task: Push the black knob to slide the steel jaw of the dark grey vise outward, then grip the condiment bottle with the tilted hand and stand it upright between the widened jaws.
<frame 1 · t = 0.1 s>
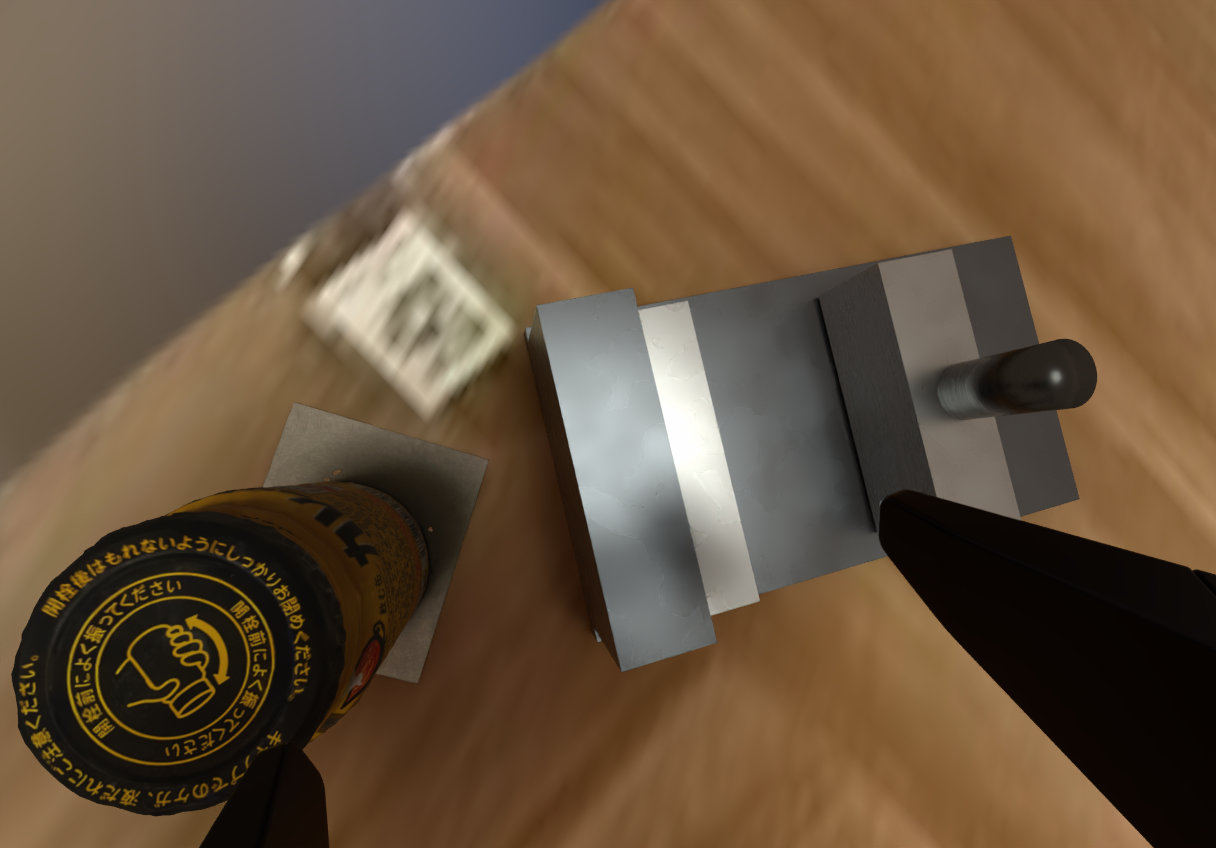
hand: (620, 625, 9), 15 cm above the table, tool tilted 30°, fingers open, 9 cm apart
condiment: (358, 541, 23), on the table
sliding jaw: (950, 394, 21), point 5 cm above the table, slide at 0.0 cm
vise: (811, 422, 26), on the table
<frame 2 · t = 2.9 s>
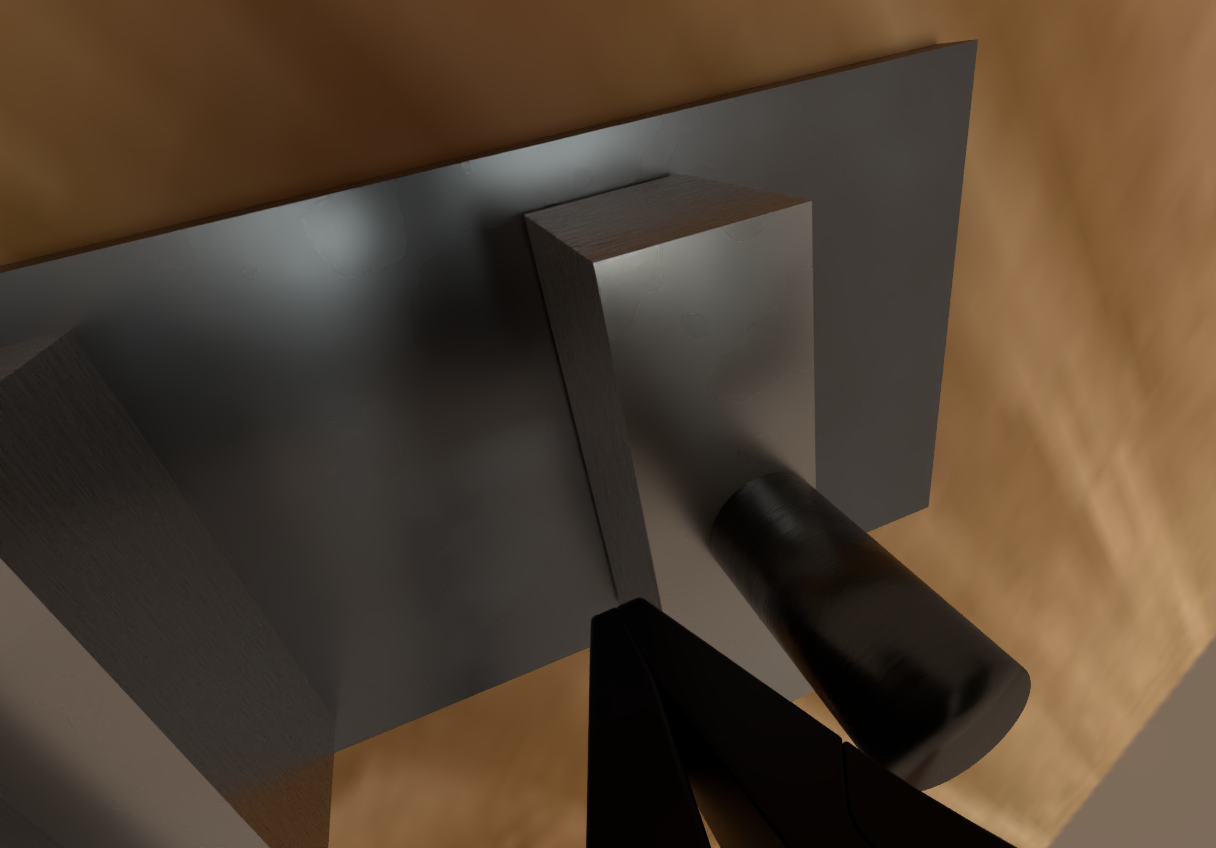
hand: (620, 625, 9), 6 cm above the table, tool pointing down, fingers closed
sliding jaw: (737, 535, 10), point 5 cm above the table, slide at 0.2 cm, touching gripper
vise: (516, 443, 14), on the table
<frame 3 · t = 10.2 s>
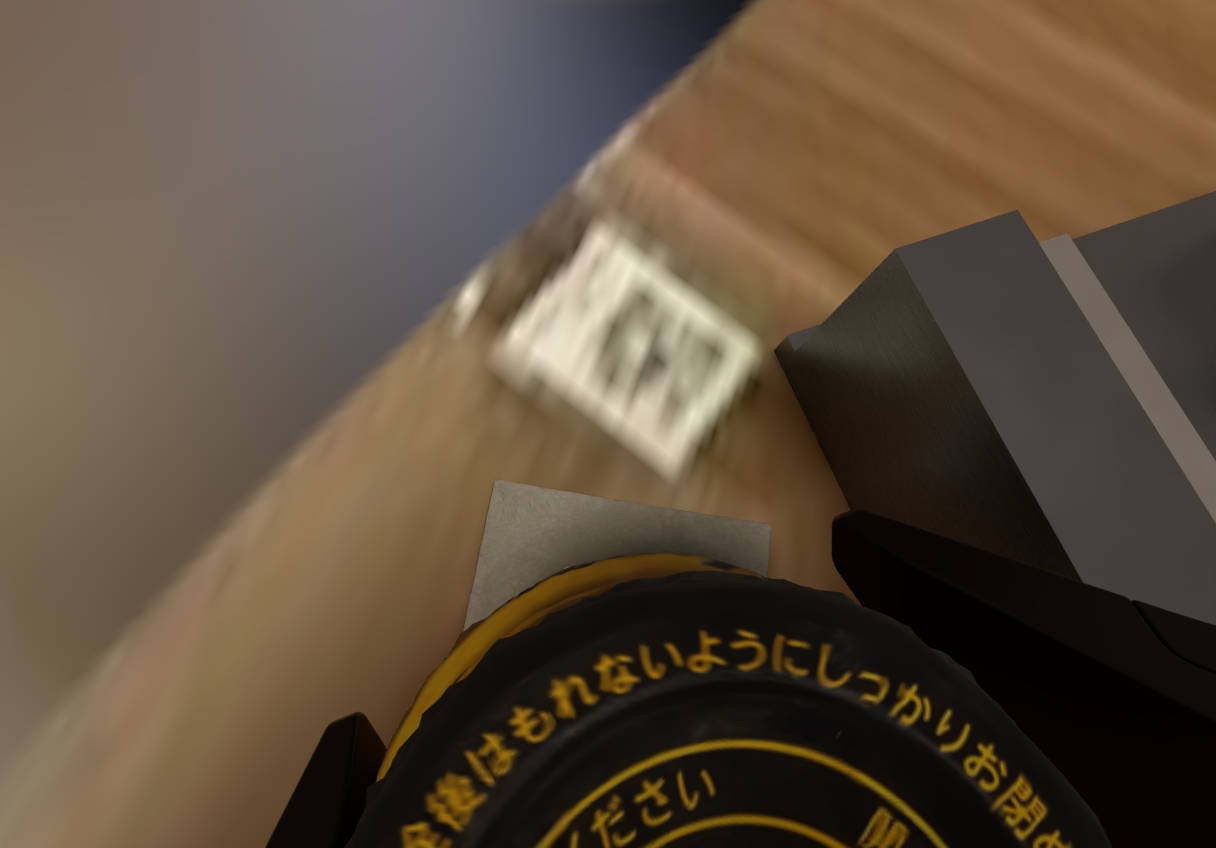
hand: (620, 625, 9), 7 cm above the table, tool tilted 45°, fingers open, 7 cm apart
condiment: (607, 673, 15), on the table, touching gripper
vise: (1177, 415, 18), on the table
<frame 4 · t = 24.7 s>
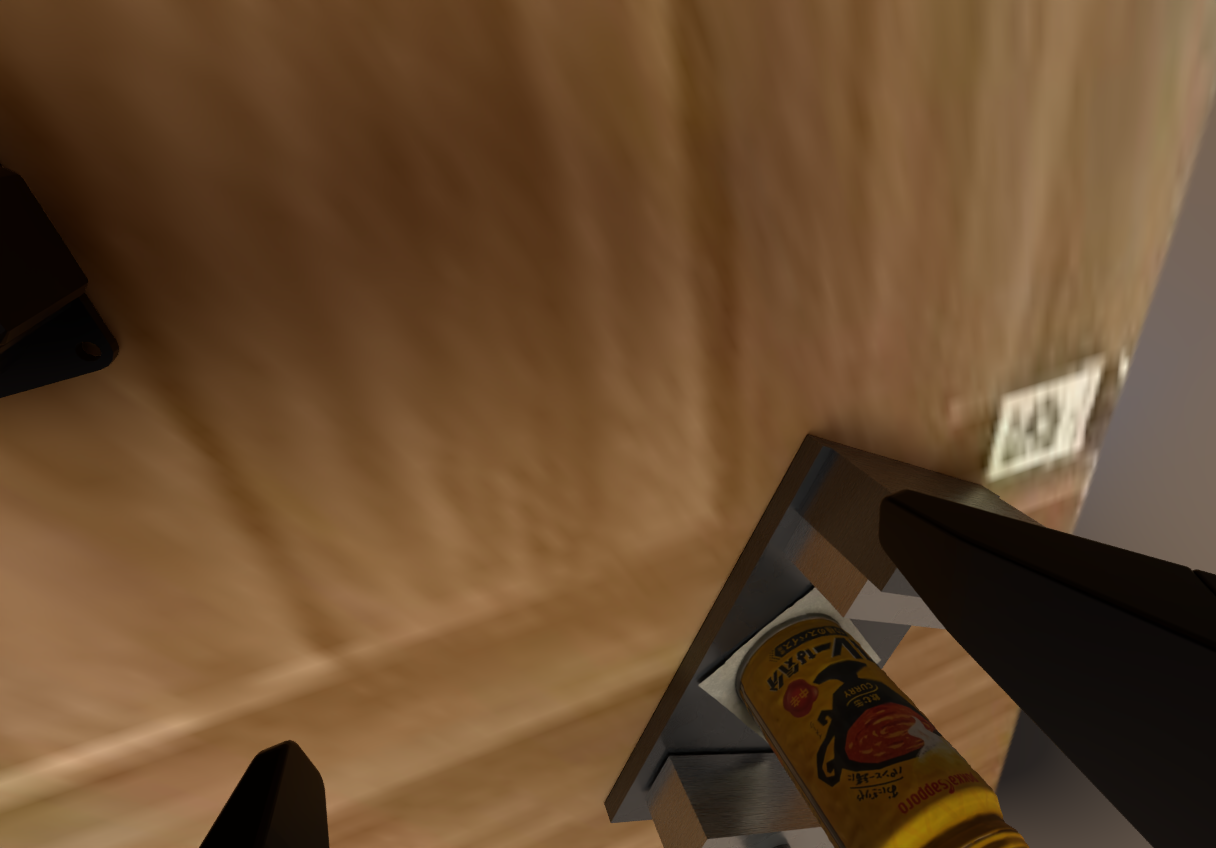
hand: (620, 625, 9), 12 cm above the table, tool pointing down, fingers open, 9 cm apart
condiment: (791, 665, 30), point 1 cm above the table, touching vise
vise: (789, 648, 31), on the table
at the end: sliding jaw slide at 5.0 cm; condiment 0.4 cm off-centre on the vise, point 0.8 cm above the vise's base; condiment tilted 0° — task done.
